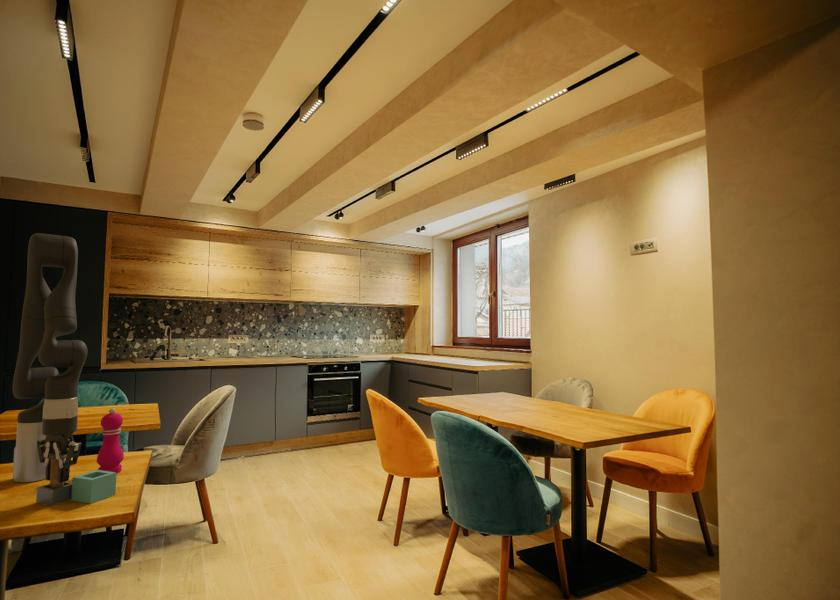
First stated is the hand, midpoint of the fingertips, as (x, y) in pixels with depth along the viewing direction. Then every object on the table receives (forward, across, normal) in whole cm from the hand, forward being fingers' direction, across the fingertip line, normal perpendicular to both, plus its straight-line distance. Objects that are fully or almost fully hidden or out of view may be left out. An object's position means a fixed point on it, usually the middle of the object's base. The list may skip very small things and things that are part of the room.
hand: (57, 480), depth 127 cm
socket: (+5, +7, +5) cm, 10 cm away
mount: (+5, 0, 0) cm, 5 cm away
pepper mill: (+5, -10, +23) cm, 26 cm away
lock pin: (+5, 0, 0) cm, 5 cm away
